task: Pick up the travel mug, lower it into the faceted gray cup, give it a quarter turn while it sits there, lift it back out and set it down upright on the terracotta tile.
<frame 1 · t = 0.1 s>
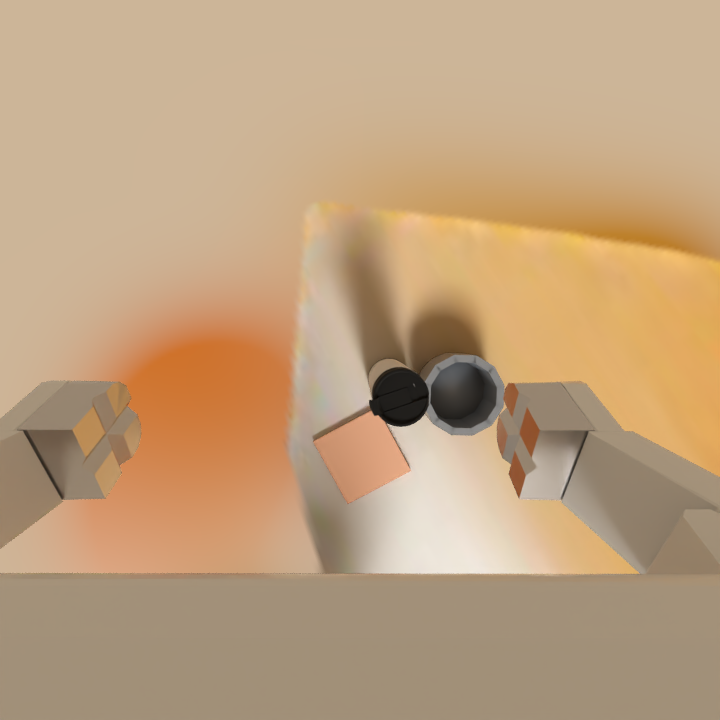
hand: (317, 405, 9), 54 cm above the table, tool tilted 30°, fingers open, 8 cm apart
travel mug: (387, 378, 64), on the table
faceted gray cup: (452, 388, 64), on the table
terracotta tile: (362, 454, 64), on the table
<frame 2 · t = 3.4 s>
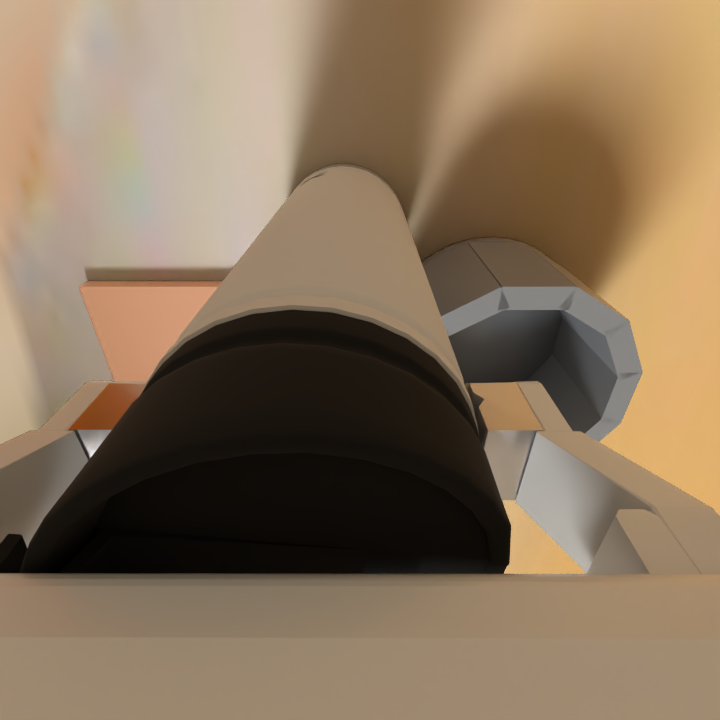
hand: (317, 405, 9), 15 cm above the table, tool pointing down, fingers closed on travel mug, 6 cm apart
travel mug: (341, 226, 22), on the table, touching gripper
faceted gray cup: (476, 328, 25), on the table
terracotta tile: (203, 363, 26), on the table
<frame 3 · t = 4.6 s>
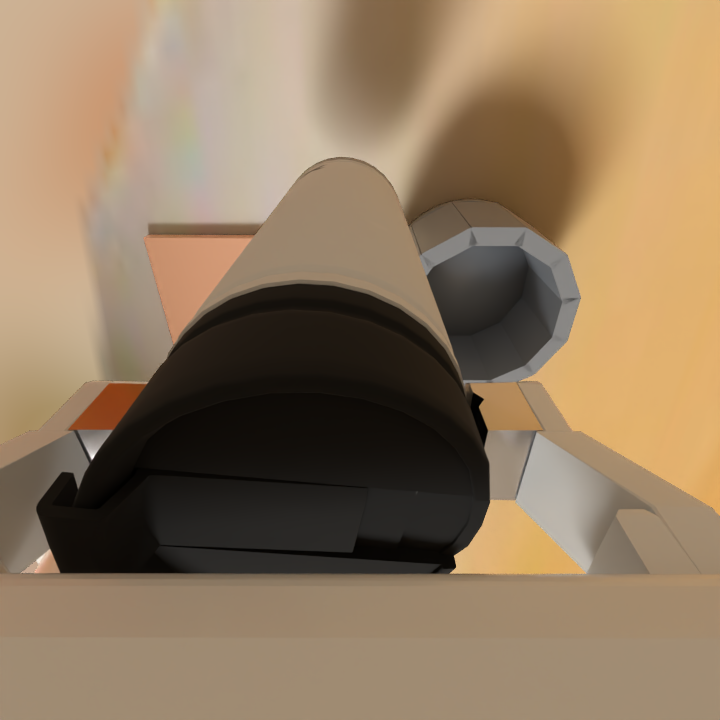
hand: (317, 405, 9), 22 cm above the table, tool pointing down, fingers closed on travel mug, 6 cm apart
travel mug: (340, 218, 23), point 6 cm above the table, touching gripper
faceted gray cup: (460, 276, 31), on the table
terracotta tile: (238, 305, 32), on the table
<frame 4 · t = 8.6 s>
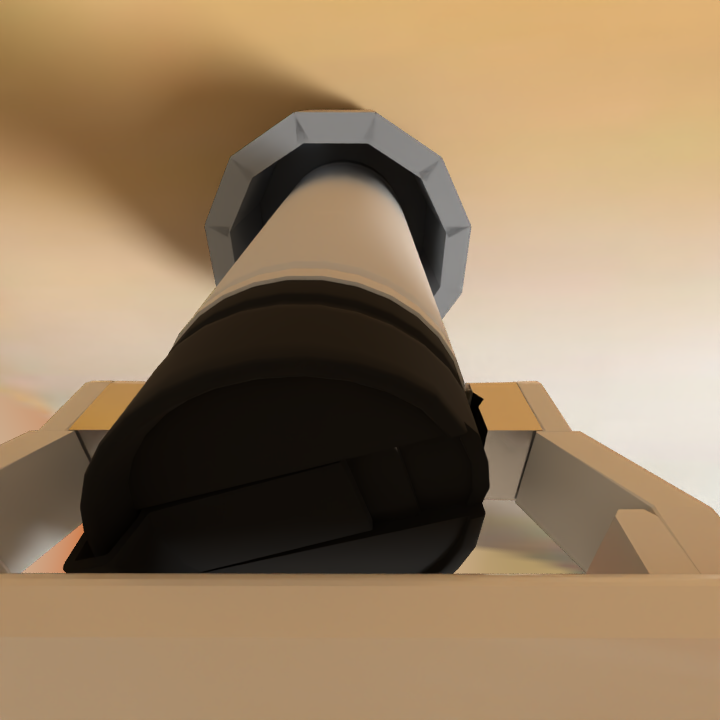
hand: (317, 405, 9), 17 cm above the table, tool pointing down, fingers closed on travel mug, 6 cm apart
travel mug: (341, 221, 23), point 1 cm above the table, touching gripper, faceted gray cup
faceted gray cup: (344, 221, 24), on the table
when the fingers open (18 cm above the table, at t = 14.5 s): travel mug stays where it is, resting on terracotta tile.
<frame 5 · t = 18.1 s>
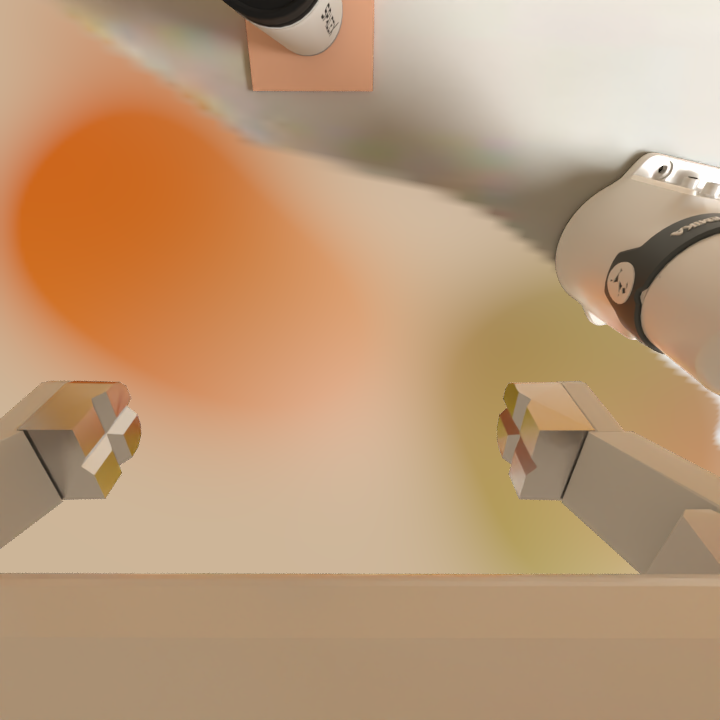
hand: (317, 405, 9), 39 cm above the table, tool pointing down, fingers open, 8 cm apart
travel mug: (304, 12, 35), point 1 cm above the table, touching terracotta tile
terracotta tile: (310, 15, 36), on the table
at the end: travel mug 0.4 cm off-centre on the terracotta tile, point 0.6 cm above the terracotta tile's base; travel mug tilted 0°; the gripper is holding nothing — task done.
